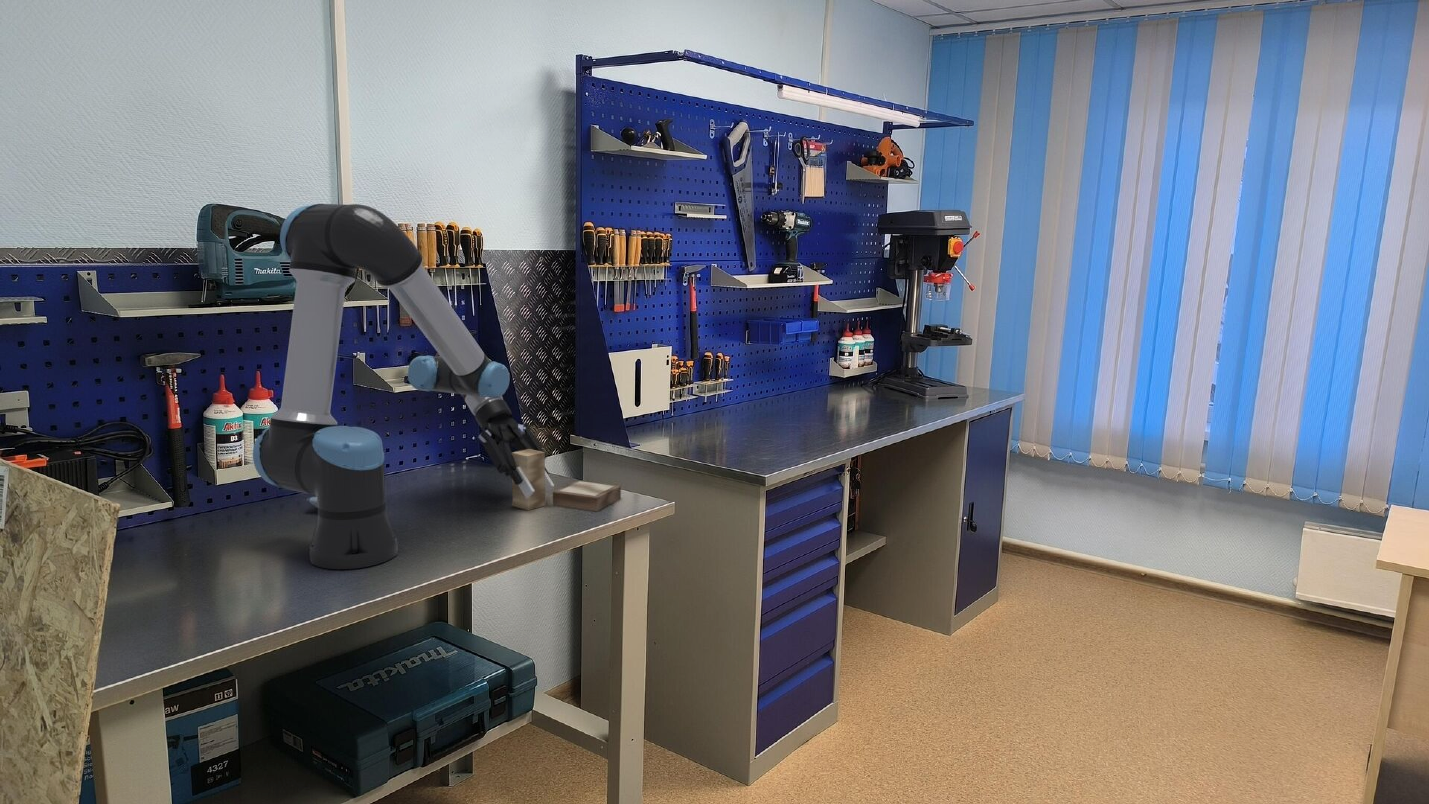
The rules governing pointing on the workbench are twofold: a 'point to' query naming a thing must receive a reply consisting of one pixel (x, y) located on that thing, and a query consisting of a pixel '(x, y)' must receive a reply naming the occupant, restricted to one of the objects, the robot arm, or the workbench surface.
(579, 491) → the plinth
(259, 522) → the workbench surface
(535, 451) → the oak block
